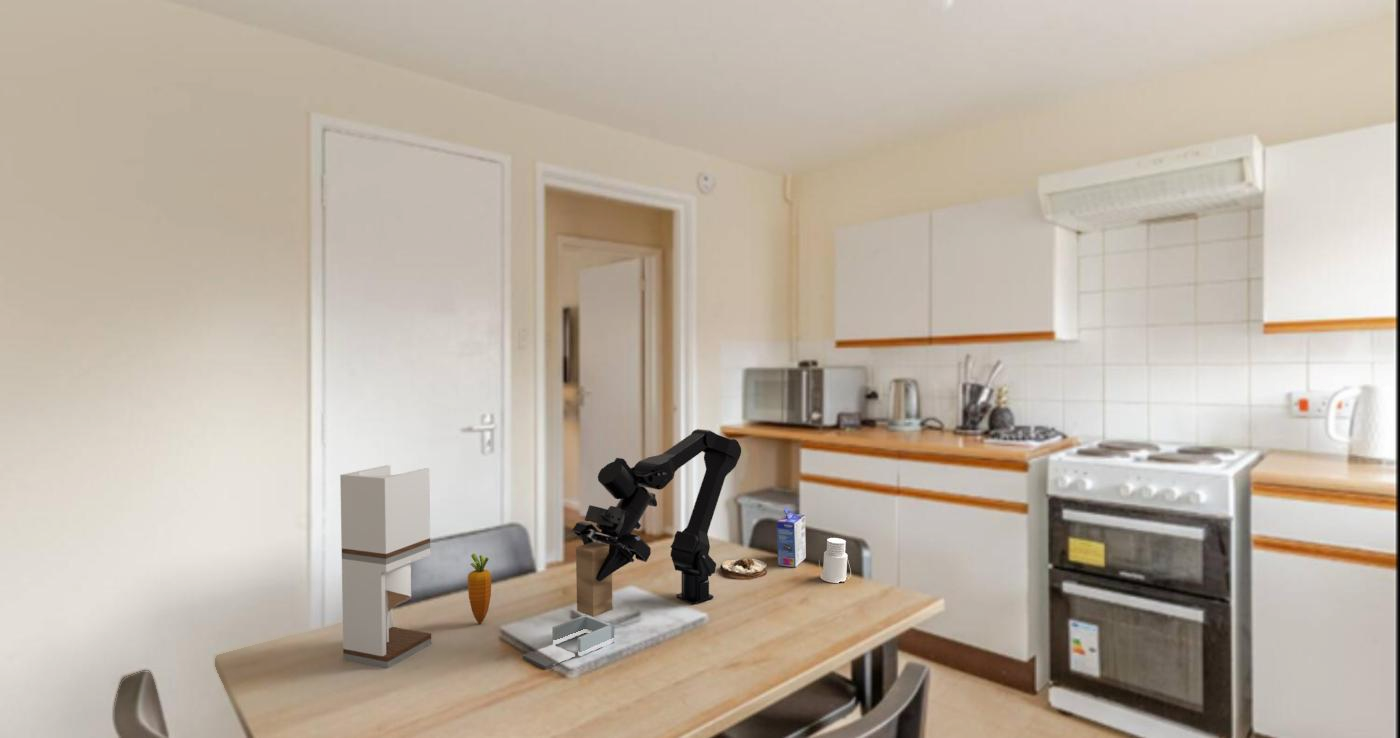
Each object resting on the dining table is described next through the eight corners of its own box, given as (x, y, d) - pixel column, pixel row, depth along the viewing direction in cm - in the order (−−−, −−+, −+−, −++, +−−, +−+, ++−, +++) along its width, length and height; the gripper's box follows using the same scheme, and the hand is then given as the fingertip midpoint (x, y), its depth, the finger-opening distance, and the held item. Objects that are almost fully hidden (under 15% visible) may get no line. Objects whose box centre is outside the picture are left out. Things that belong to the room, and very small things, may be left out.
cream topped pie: (714, 564, 192) (714, 549, 192) (769, 564, 192) (769, 549, 191) (715, 582, 177) (715, 566, 177) (774, 583, 177) (774, 566, 177)
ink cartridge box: (787, 555, 198) (787, 504, 198) (806, 558, 196) (806, 506, 196) (776, 565, 189) (776, 512, 189) (795, 568, 187) (796, 514, 187)
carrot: (496, 623, 150) (496, 553, 149) (475, 630, 146) (474, 558, 146) (484, 617, 153) (483, 549, 153) (463, 623, 149) (462, 554, 149)
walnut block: (596, 603, 145) (595, 541, 145) (612, 609, 142) (611, 545, 141) (577, 610, 141) (575, 547, 141) (593, 617, 138) (592, 551, 137)
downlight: (818, 582, 176) (820, 542, 175) (818, 573, 182) (820, 535, 182) (851, 585, 174) (853, 545, 174) (849, 576, 181) (851, 538, 181)
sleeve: (586, 631, 146) (586, 614, 145) (614, 642, 140) (614, 625, 140) (520, 657, 133) (520, 638, 133) (548, 670, 128) (548, 651, 128)
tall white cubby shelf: (387, 668, 129) (384, 478, 128) (343, 659, 133) (340, 474, 131) (431, 643, 140) (429, 468, 138) (389, 636, 143) (386, 465, 142)
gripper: (578, 483, 150) (536, 547, 142) (639, 495, 137) (597, 565, 130) (606, 513, 156) (568, 575, 148) (668, 527, 144) (629, 595, 136)
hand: (588, 577), depth 140 cm, fingers closed on walnut block, 5 cm apart
